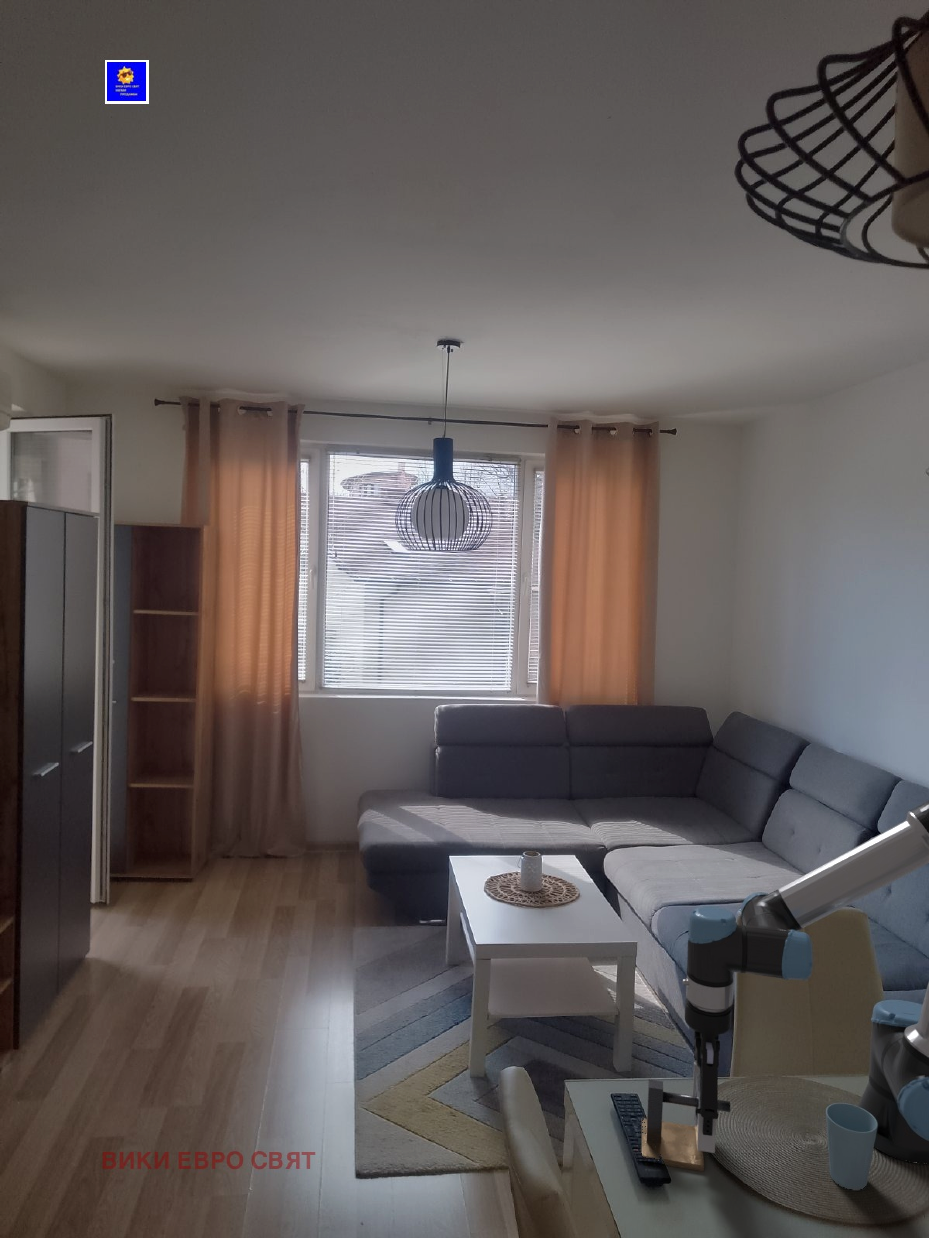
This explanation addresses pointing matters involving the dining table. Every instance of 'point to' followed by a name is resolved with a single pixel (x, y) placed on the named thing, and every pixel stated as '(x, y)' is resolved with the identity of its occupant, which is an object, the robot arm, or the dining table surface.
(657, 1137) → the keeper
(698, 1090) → the link
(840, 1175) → the cup
